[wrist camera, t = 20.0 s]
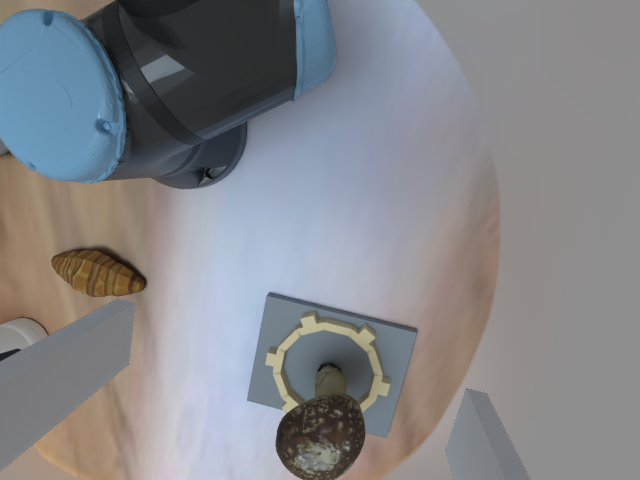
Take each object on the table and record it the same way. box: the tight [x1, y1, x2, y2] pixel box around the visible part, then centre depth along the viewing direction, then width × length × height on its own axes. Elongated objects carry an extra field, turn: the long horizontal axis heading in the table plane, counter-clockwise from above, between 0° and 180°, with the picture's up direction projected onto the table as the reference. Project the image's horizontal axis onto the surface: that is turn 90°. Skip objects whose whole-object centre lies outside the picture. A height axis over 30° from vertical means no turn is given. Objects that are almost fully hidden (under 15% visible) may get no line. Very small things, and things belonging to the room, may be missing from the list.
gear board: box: [247, 293, 417, 438], centre depth 51 cm, size 20×16×3 cm
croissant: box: [51, 250, 145, 297], centre depth 52 cm, size 14×7×5 cm, turn 75°
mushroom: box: [275, 363, 365, 480], centre depth 44 cm, size 9×9×15 cm
